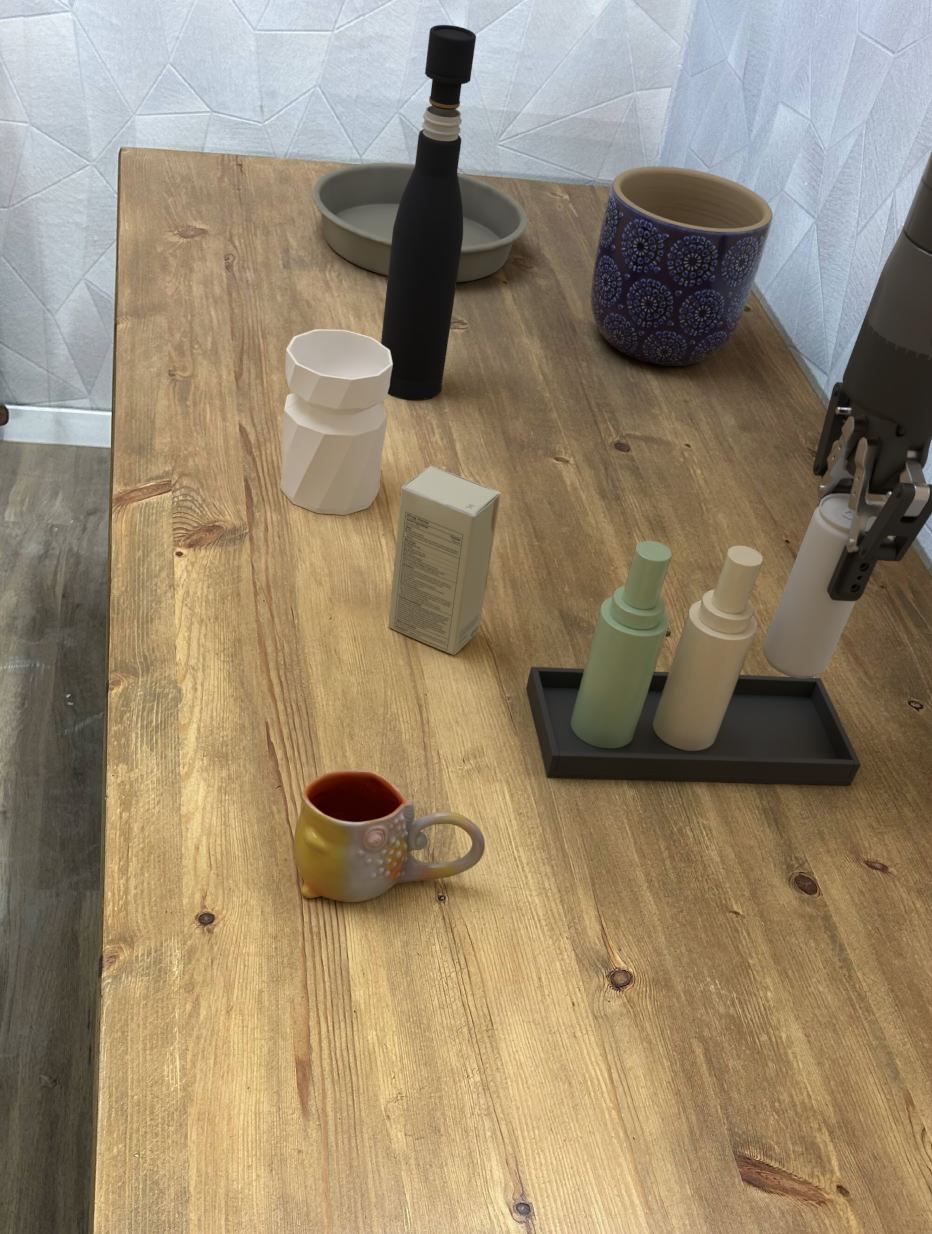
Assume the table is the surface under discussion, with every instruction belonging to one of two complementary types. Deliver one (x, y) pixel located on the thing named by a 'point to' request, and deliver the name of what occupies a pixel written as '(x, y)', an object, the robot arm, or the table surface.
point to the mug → (367, 838)
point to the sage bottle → (624, 653)
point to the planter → (676, 262)
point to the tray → (743, 750)
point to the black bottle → (429, 228)
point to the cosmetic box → (442, 558)
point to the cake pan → (368, 206)
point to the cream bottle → (710, 656)
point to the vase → (334, 420)
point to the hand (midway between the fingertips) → (830, 572)
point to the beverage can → (812, 596)
